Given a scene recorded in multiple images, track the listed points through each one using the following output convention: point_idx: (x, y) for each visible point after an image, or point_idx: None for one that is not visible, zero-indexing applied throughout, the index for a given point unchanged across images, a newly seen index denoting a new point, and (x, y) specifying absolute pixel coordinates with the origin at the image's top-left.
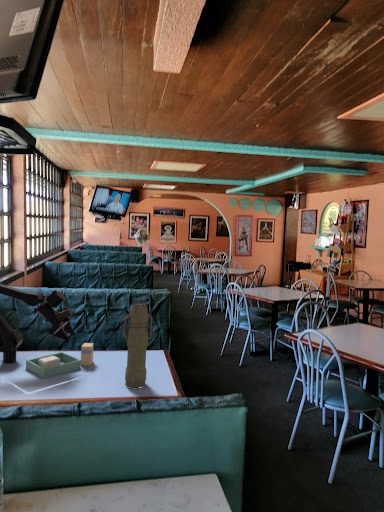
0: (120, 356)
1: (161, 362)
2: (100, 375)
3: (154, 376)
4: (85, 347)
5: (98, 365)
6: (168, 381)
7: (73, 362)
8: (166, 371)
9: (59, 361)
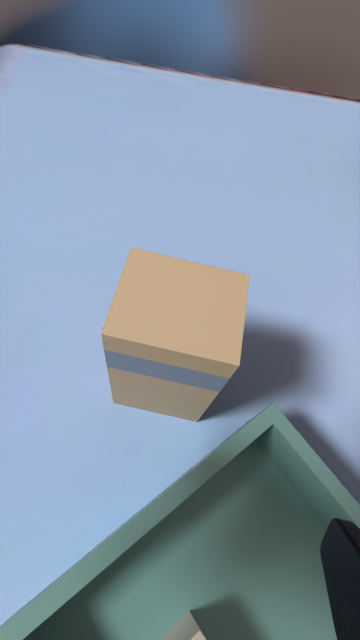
0: (39, 192)
1: (166, 83)
2: (331, 309)
3: (317, 132)
4: (242, 328)
5: None
6: (357, 112)
7: (324, 465)
8: (265, 94)
9: (202, 633)
